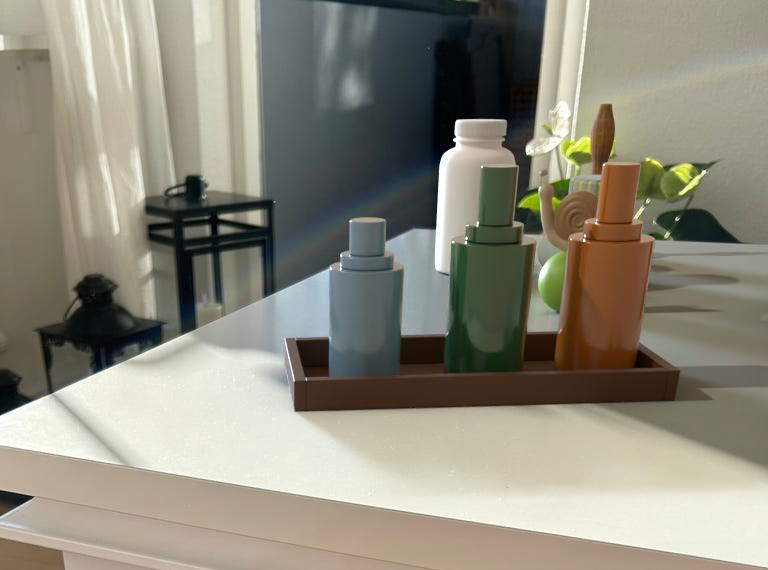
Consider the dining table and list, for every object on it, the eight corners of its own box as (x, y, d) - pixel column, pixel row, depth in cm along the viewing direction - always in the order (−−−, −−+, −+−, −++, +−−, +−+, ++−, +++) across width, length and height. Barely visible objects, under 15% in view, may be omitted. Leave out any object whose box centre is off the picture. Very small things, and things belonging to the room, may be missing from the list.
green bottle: (510, 369, 75) (531, 161, 68) (530, 390, 71) (555, 169, 64) (435, 371, 75) (448, 162, 68) (450, 393, 70) (466, 170, 63)
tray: (615, 366, 79) (621, 329, 77) (673, 411, 69) (680, 370, 67) (284, 375, 78) (284, 337, 76) (294, 422, 68) (294, 380, 66)
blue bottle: (393, 373, 75) (399, 213, 69) (404, 393, 70) (411, 224, 65) (325, 375, 75) (326, 215, 69) (332, 395, 70) (333, 226, 65)
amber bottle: (617, 366, 76) (648, 158, 69) (644, 387, 71) (681, 166, 64) (543, 368, 76) (566, 160, 69) (565, 390, 71) (593, 168, 64)
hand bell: (583, 264, 116) (602, 106, 108) (539, 253, 123) (554, 103, 115) (640, 258, 119) (664, 103, 111) (594, 247, 126) (613, 101, 118)
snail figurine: (535, 302, 99) (550, 166, 93) (601, 309, 96) (621, 169, 90) (516, 313, 95) (530, 172, 89) (585, 320, 92) (604, 175, 86)
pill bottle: (491, 263, 117) (503, 116, 110) (517, 275, 111) (531, 120, 103) (425, 266, 116) (432, 118, 109) (446, 279, 109) (456, 122, 102)
